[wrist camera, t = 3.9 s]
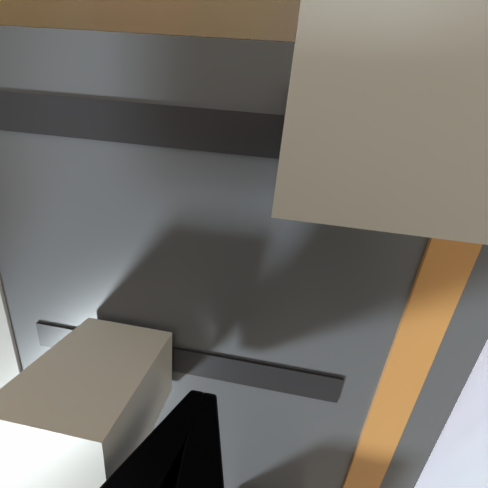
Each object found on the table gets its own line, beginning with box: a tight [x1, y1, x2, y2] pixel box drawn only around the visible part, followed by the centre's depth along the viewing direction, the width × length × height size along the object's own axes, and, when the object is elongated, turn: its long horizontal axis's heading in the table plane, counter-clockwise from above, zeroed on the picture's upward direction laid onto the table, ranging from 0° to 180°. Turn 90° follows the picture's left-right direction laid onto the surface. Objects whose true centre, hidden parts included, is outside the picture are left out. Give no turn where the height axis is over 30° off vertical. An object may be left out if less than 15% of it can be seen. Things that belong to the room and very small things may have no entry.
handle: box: [271, 0, 488, 245], centre depth 4 cm, size 3×2×4 cm
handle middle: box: [0, 318, 172, 488], centre depth 7 cm, size 3×2×4 cm
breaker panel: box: [0, 25, 488, 488], centre depth 10 cm, size 20×19×2 cm
